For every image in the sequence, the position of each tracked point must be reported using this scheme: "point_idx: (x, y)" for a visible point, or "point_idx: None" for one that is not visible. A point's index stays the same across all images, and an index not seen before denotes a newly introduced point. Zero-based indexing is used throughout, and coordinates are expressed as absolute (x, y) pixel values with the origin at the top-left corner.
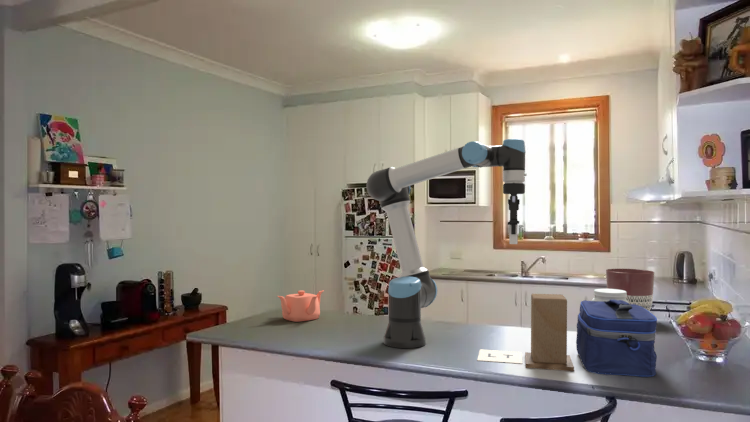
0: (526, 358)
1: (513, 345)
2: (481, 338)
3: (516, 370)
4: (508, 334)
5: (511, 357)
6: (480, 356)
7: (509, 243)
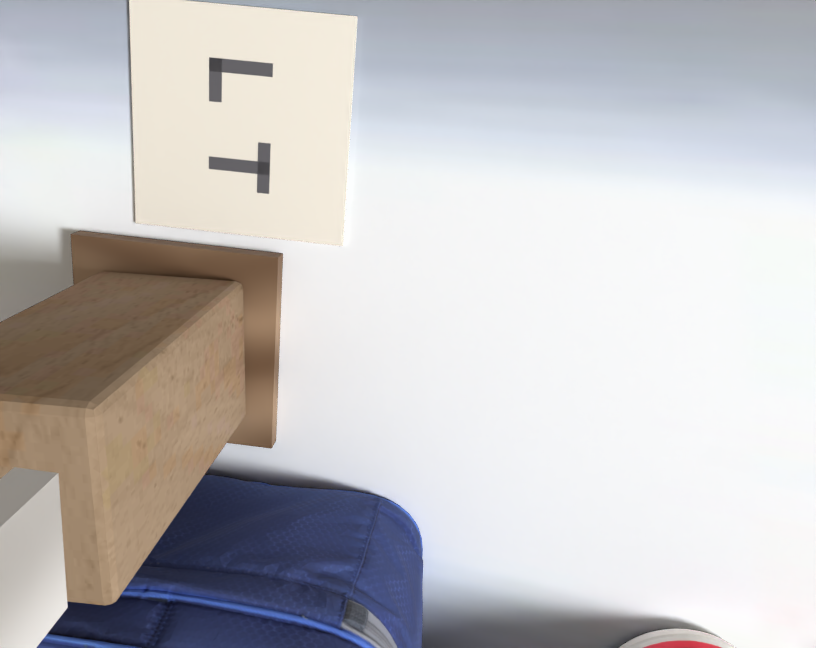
0: (163, 249)
1: (492, 218)
2: (651, 33)
3: (26, 184)
4: (775, 216)
5: (224, 182)
6: (202, 15)
7: (9, 475)
